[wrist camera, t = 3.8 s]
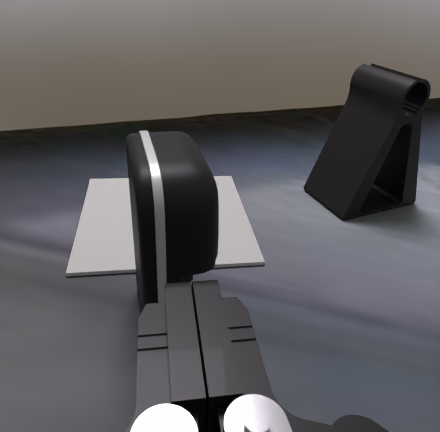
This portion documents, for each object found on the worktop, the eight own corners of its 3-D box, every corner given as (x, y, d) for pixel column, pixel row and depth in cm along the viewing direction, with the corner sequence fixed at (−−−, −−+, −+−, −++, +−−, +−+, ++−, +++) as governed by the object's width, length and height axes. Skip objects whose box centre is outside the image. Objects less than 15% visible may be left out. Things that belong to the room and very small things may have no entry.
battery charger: (216, 358, 22) (231, 175, 16) (148, 371, 21) (135, 182, 15) (191, 277, 28) (194, 118, 22) (136, 284, 27) (123, 120, 21)
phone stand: (371, 177, 43) (404, 61, 37) (414, 204, 39) (461, 77, 32) (302, 190, 40) (326, 65, 33) (341, 221, 35) (377, 83, 29)
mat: (66, 276, 27) (66, 273, 27) (90, 181, 39) (90, 179, 39) (264, 264, 29) (264, 261, 29) (230, 178, 41) (231, 176, 41)
